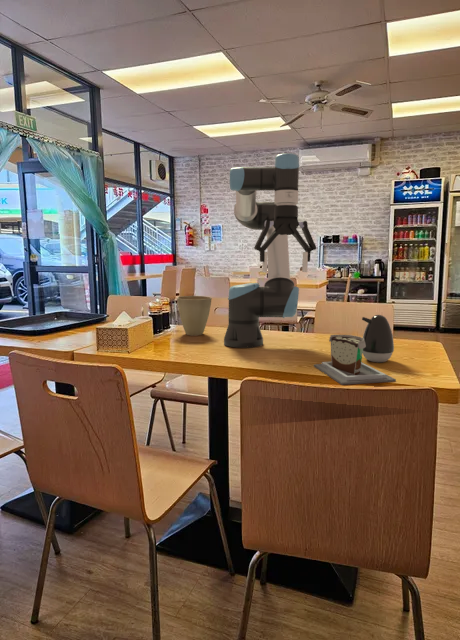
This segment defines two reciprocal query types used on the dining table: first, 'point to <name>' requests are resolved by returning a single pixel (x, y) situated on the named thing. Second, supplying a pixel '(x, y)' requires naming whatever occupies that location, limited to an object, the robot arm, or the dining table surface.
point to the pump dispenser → (378, 339)
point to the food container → (347, 353)
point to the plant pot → (194, 313)
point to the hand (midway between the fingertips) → (284, 272)
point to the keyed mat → (364, 376)
